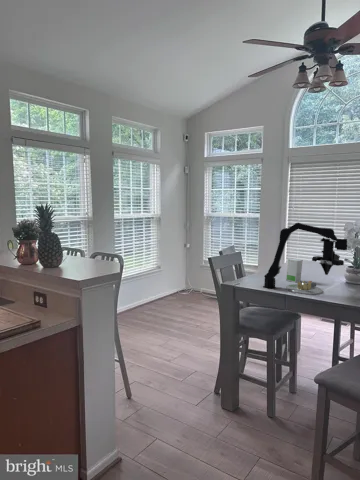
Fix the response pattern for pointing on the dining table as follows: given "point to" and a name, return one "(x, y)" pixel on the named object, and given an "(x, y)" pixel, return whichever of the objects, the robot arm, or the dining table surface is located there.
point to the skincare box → (294, 270)
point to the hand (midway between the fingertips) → (326, 274)
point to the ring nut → (308, 286)
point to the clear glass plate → (303, 291)
